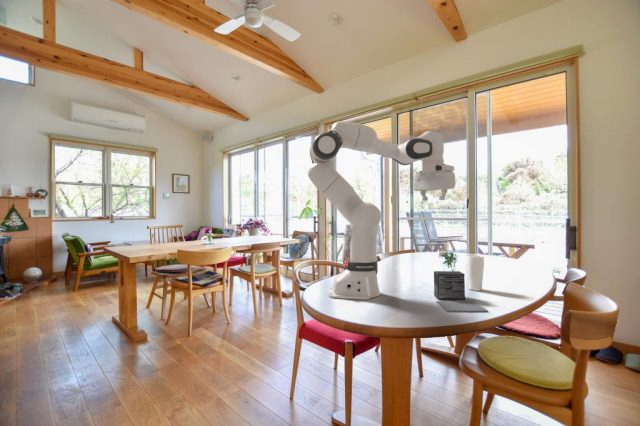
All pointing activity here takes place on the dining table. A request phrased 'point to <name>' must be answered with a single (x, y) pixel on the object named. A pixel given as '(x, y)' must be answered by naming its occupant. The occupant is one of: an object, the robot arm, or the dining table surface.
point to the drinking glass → (475, 271)
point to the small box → (449, 285)
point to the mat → (461, 306)
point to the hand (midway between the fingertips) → (433, 200)
